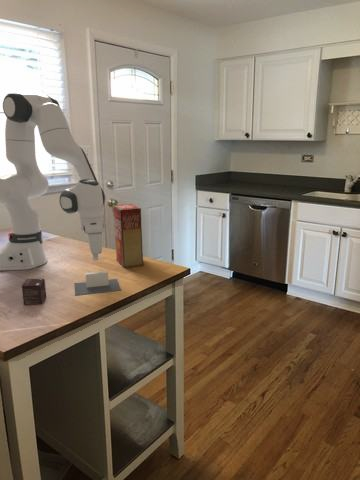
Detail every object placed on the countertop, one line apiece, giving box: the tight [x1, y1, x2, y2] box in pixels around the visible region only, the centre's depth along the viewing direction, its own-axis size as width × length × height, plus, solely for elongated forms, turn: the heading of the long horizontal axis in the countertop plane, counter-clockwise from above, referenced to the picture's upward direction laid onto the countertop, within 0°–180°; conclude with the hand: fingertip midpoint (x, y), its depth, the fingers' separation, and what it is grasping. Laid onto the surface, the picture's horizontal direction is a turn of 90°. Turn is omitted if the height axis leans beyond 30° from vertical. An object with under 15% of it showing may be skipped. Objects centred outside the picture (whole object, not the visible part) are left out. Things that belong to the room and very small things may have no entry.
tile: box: [84, 270, 109, 287], centre depth 143 cm, size 8×2×5 cm, turn 106°
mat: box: [74, 278, 122, 297], centre depth 142 cm, size 16×12×1 cm
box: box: [21, 278, 47, 306], centre depth 129 cm, size 6×6×7 cm
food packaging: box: [112, 203, 144, 269], centre depth 168 cm, size 13×9×25 cm
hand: (95, 259), depth 147 cm, fingers closed
